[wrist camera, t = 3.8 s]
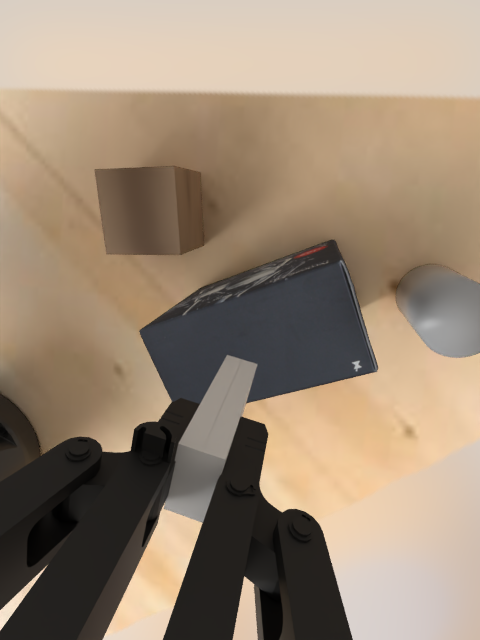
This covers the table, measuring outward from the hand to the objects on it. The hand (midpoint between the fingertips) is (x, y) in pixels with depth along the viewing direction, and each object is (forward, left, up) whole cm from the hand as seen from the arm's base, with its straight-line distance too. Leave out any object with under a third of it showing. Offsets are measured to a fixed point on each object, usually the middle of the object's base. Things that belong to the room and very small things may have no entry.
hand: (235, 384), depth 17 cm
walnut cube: (-11, +5, -16) cm, 20 cm away
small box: (0, 0, -16) cm, 16 cm away
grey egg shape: (+12, +4, -16) cm, 20 cm away
